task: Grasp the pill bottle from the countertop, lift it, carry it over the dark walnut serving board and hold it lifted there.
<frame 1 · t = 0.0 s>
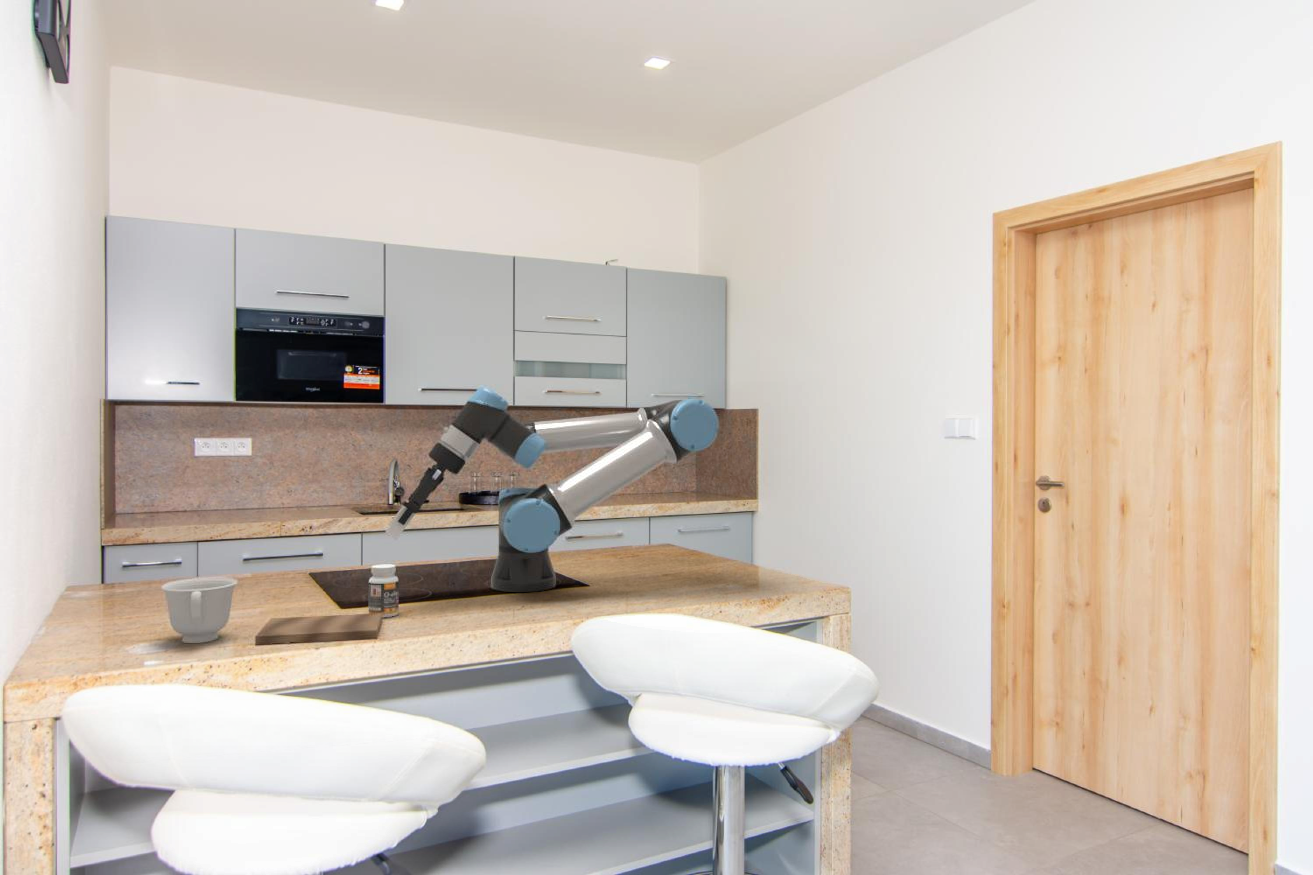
hand: (392, 532, 182), 15 cm above the counter, tool tilted 35°, fingers open, 13 cm apart
teacup: (199, 642, 151), on the counter
walnut board: (322, 632, 158), on the counter
pill bottle: (383, 616, 172), on the counter
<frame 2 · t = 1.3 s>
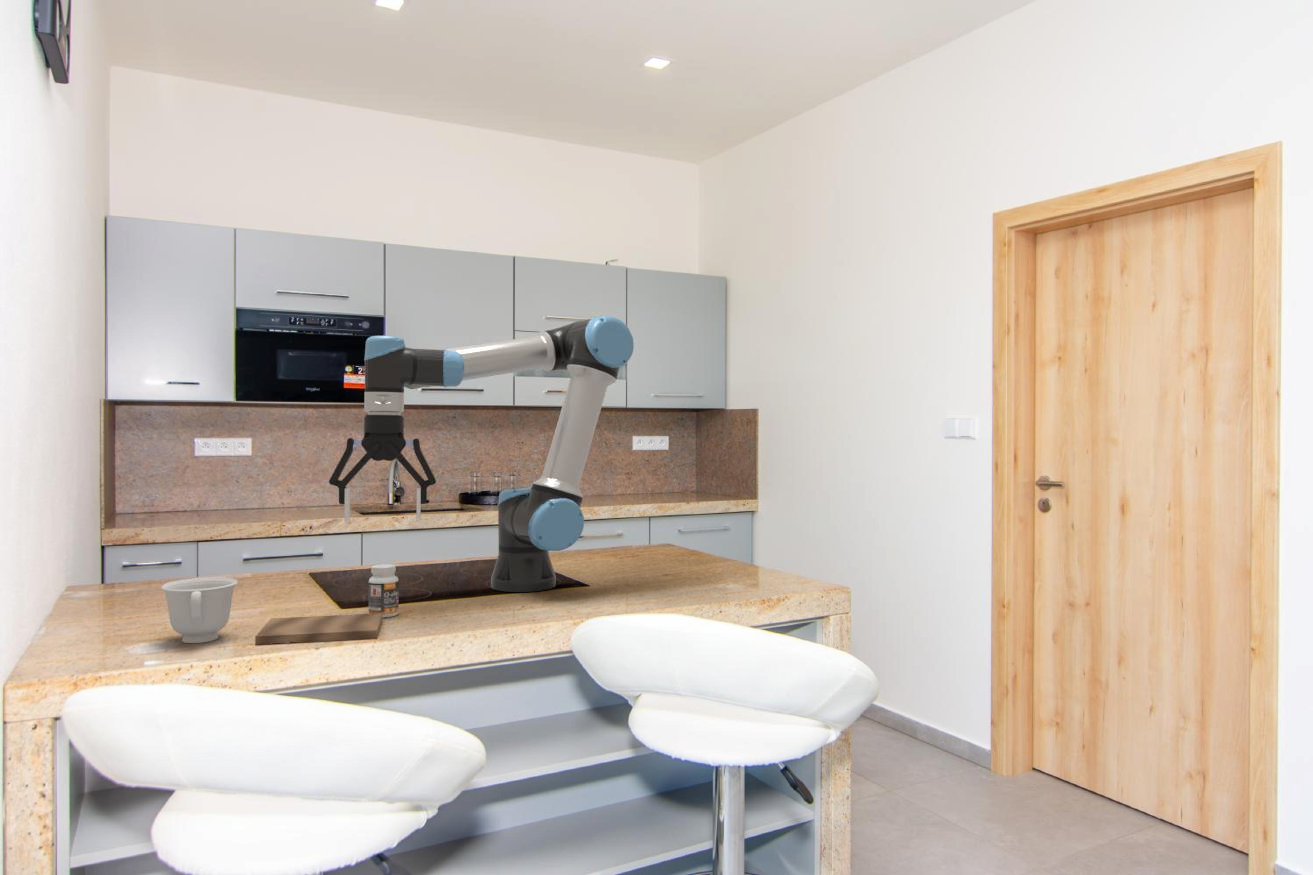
hand: (383, 520, 172), 19 cm above the counter, tool pointing down, fingers open, 13 cm apart
nothing on the counter moved.
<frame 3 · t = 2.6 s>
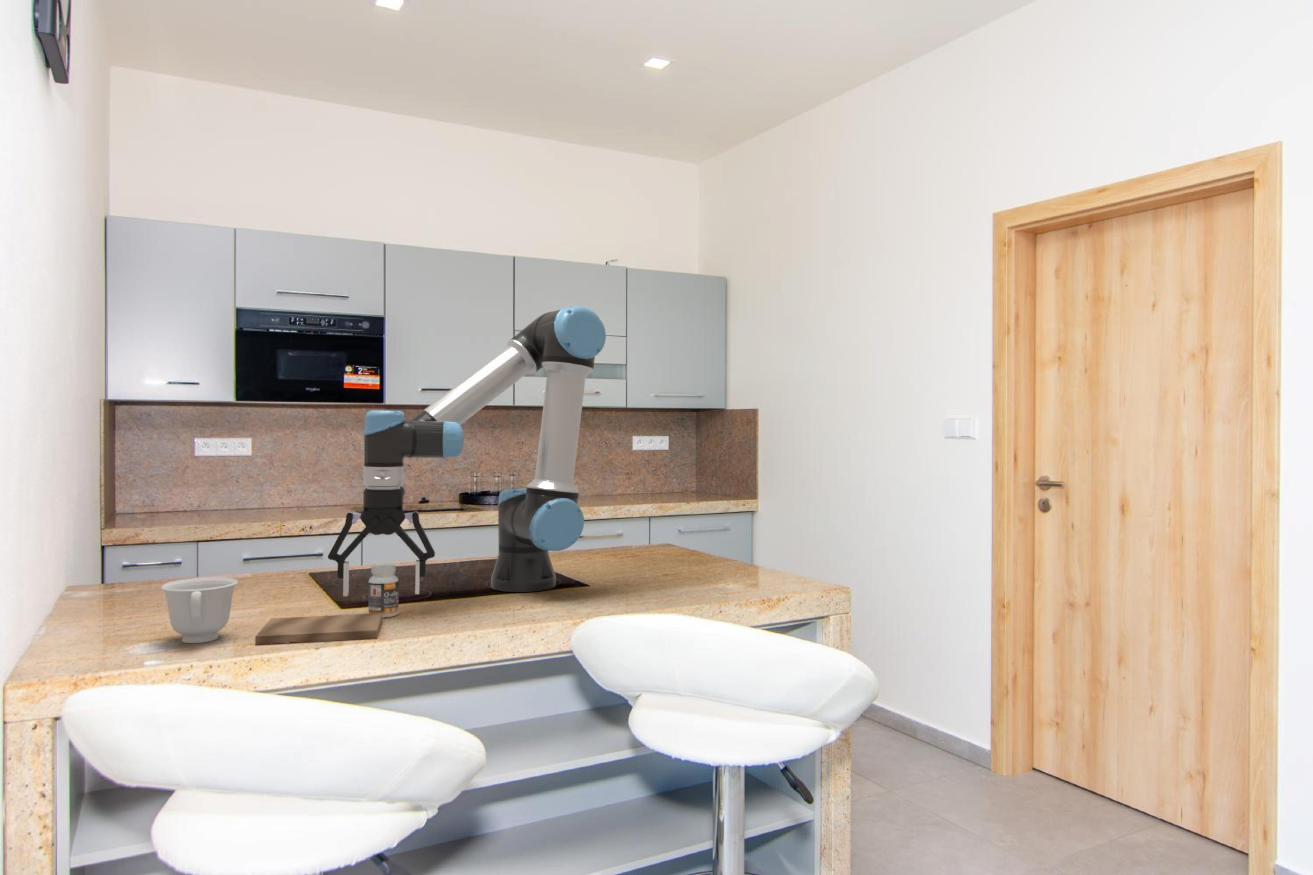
hand: (381, 594, 171), 4 cm above the counter, tool pointing down, fingers open, 13 cm apart
nothing on the counter moved.
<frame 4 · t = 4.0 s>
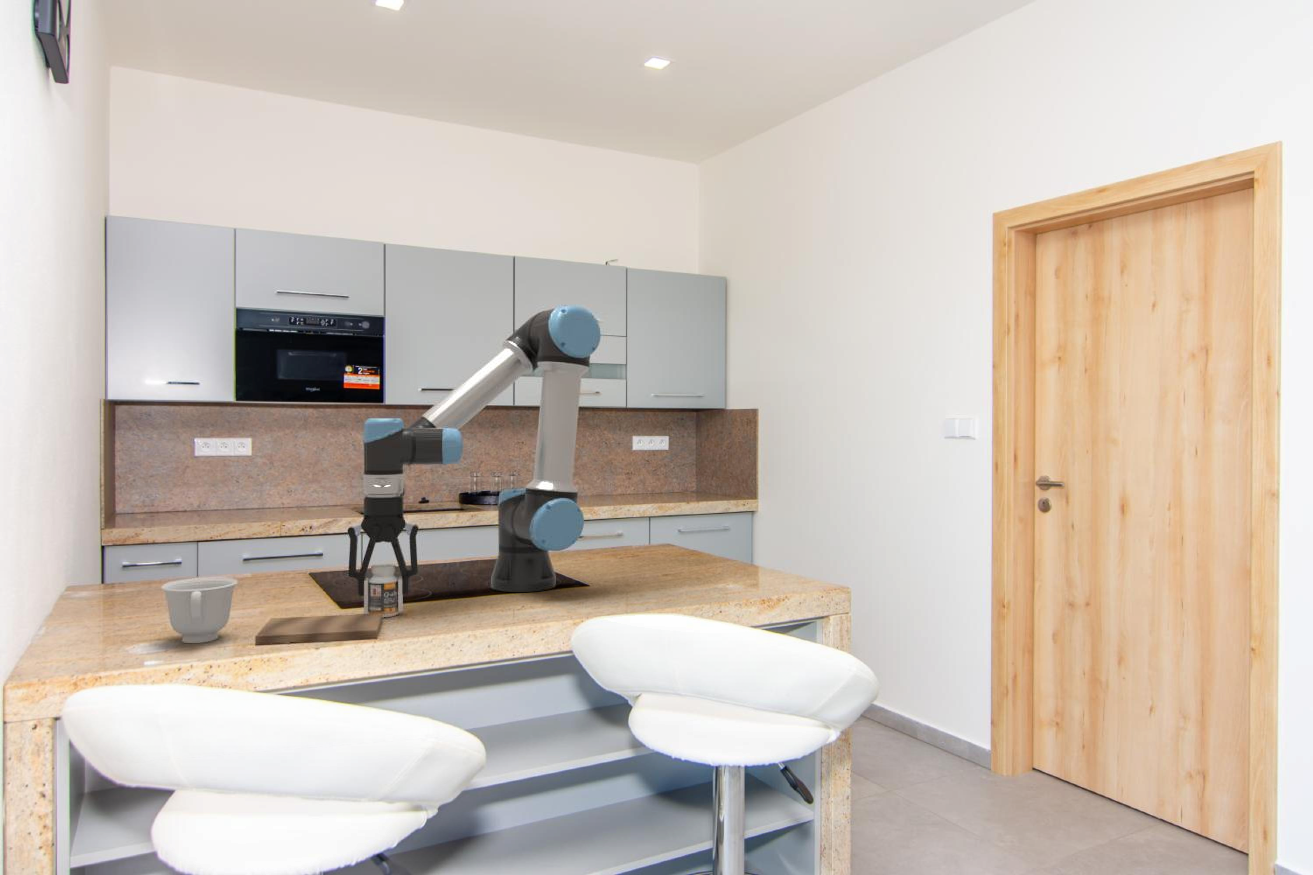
hand: (383, 610, 172), 1 cm above the counter, tool pointing down, fingers closed on pill bottle, 6 cm apart
pill bottle: (383, 616, 172), on the counter, touching gripper
everything else where it was.
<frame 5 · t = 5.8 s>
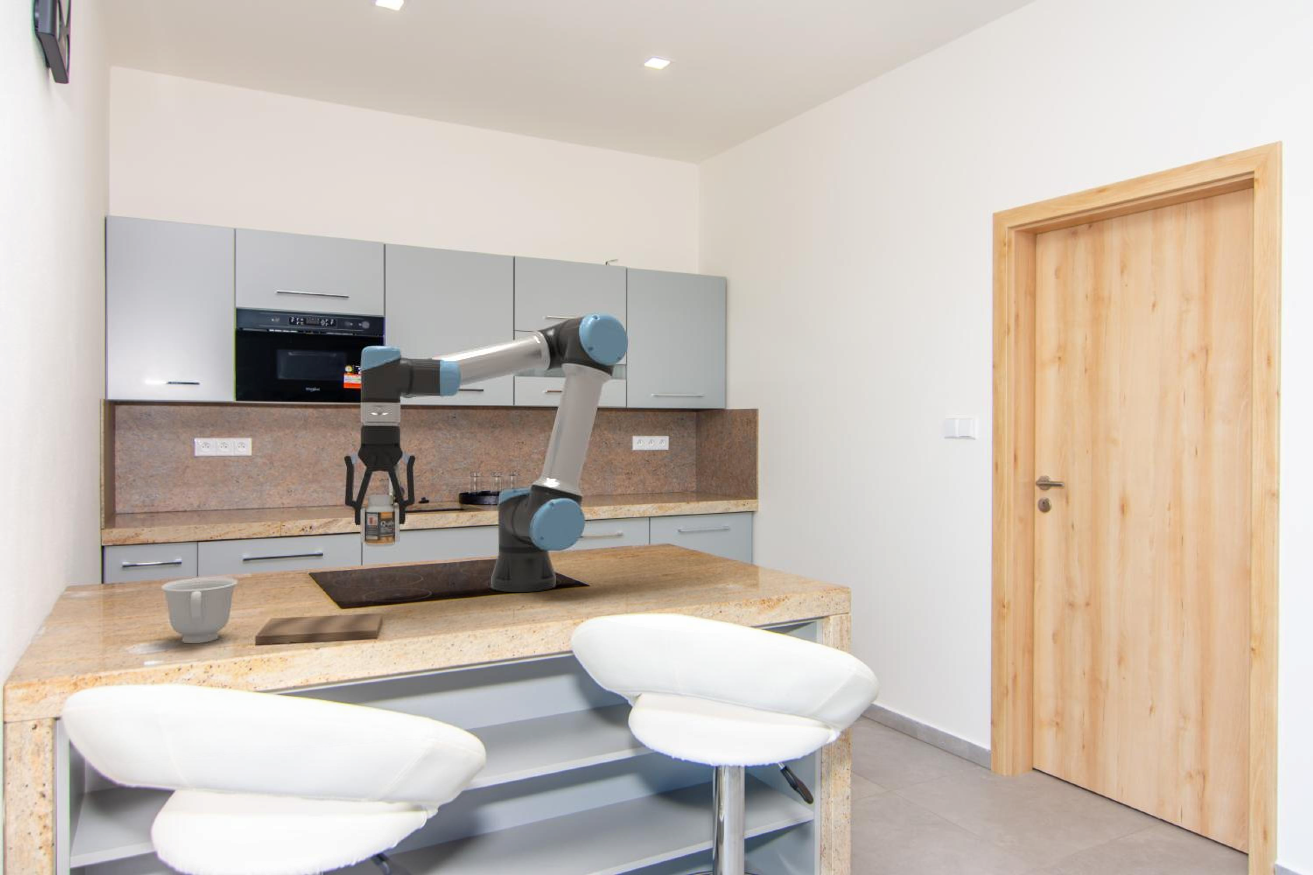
hand: (380, 540, 171), 15 cm above the counter, tool pointing down, fingers closed on pill bottle, 6 cm apart
pill bottle: (380, 546, 171), point 14 cm above the counter, touching gripper
everything else where it was.
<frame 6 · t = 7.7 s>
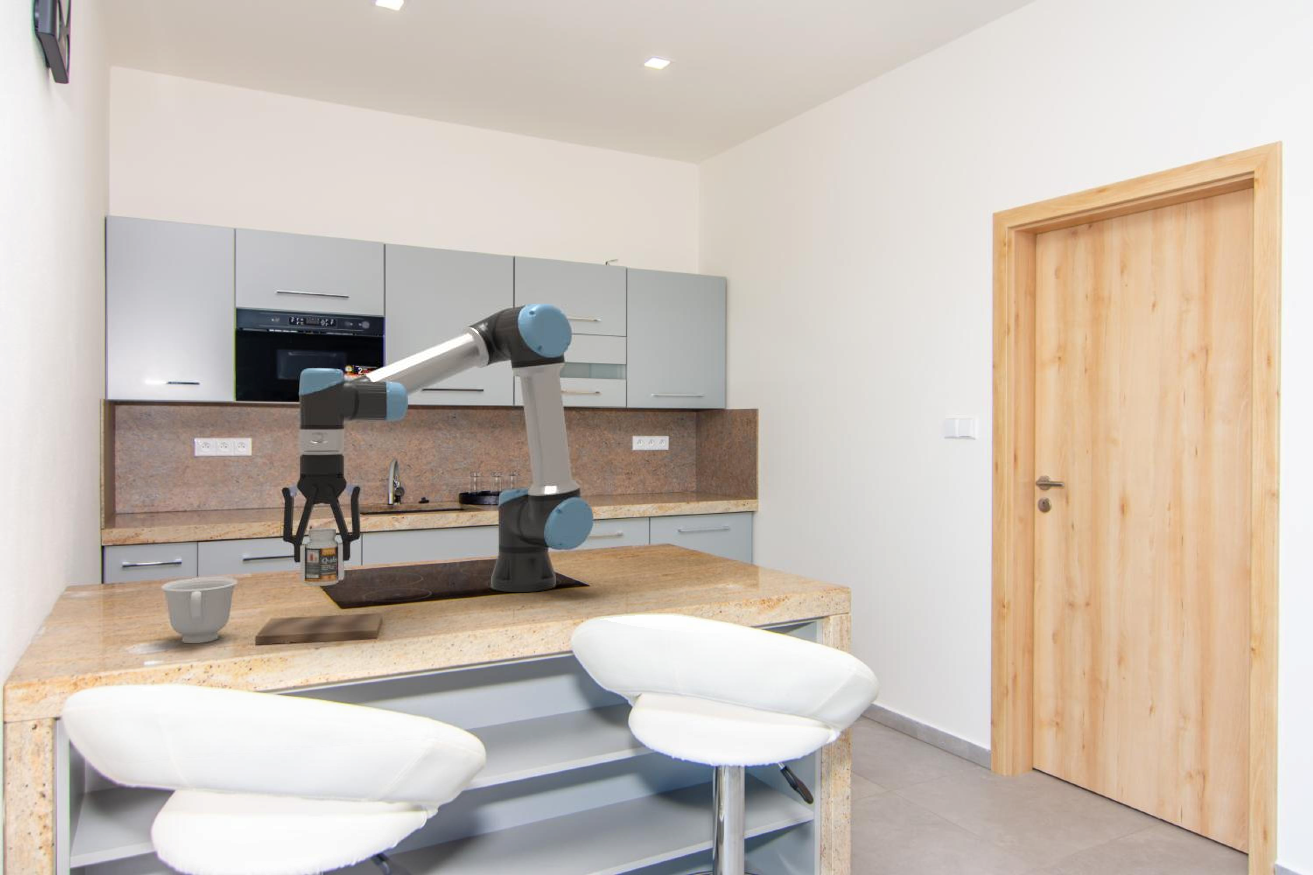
hand: (322, 579, 158), 10 cm above the counter, tool pointing down, fingers closed on pill bottle, 6 cm apart
pill bottle: (322, 584, 158), point 9 cm above the counter, touching gripper
everything else where it was.
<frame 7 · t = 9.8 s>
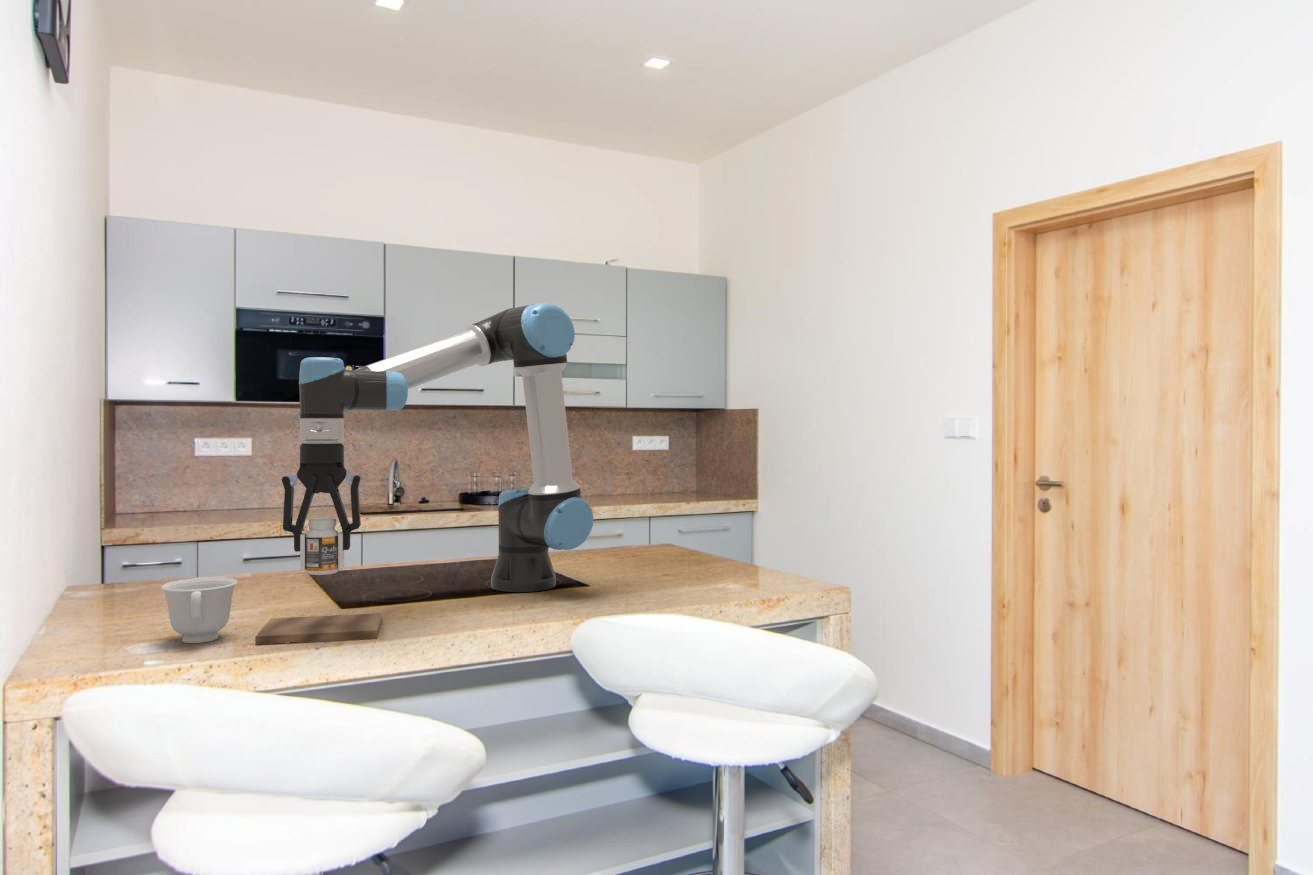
hand: (322, 568, 157), 12 cm above the counter, tool pointing down, fingers closed on pill bottle, 6 cm apart
pill bottle: (322, 574, 158), point 11 cm above the counter, touching gripper
everything else where it was.
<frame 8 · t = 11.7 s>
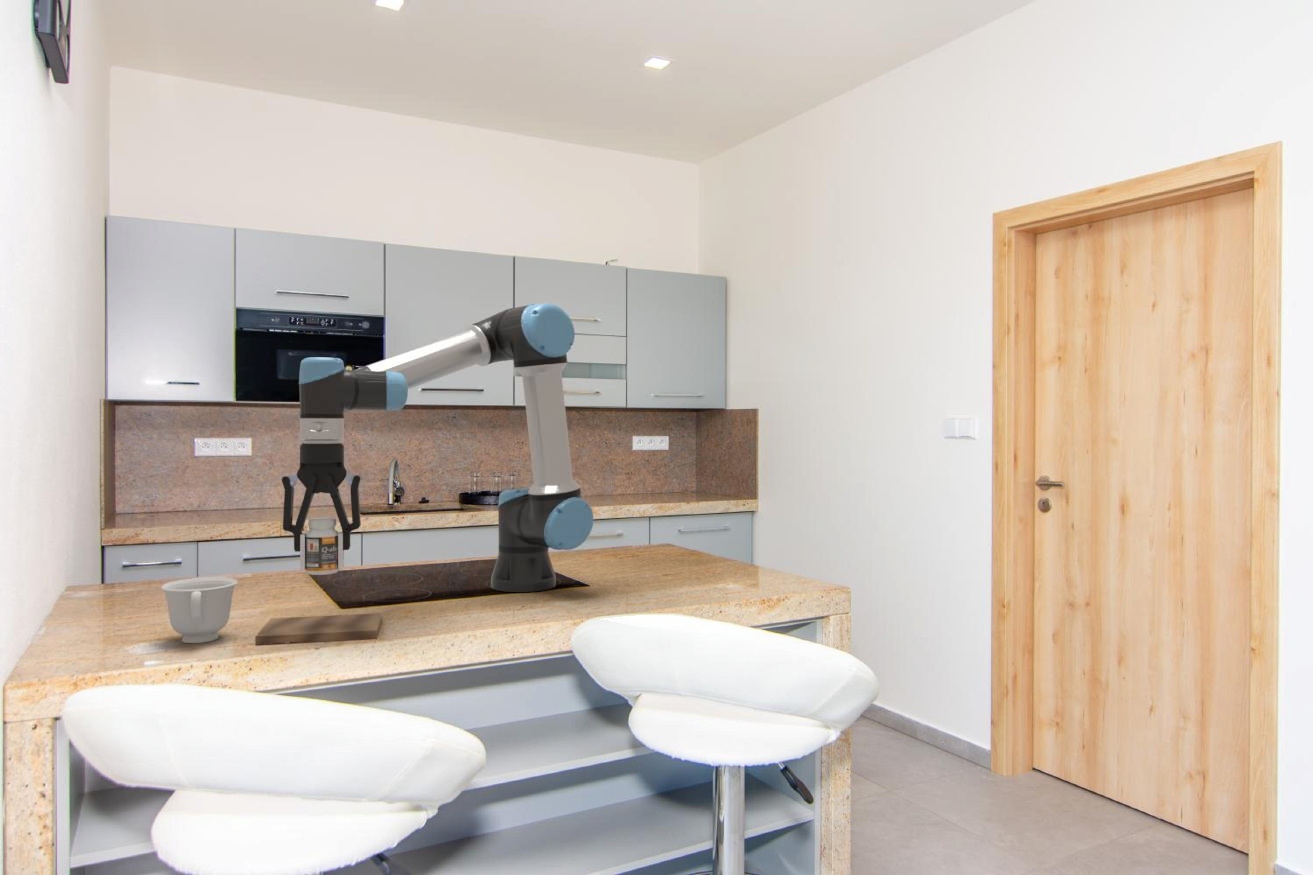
hand: (322, 568, 157), 12 cm above the counter, tool pointing down, fingers closed on pill bottle, 6 cm apart
pill bottle: (322, 574, 158), point 11 cm above the counter, touching gripper
everything else where it was.
at the end: the gripper is holding pill bottle; pill bottle point 10.7 cm above the counter; pill bottle 0.1 cm from the walnut board (horizontally) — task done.
